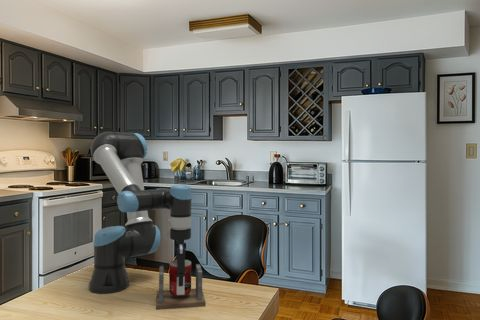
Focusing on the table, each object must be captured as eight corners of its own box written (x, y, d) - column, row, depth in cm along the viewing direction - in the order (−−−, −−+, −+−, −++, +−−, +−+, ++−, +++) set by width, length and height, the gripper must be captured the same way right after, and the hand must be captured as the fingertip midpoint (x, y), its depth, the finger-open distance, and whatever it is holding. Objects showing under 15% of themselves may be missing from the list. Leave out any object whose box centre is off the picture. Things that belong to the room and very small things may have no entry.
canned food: (187, 296, 134) (187, 265, 134) (165, 295, 136) (165, 264, 136) (194, 289, 142) (194, 259, 141) (173, 287, 143) (173, 258, 143)
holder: (156, 294, 144) (156, 264, 144) (201, 292, 147) (202, 262, 147) (155, 309, 130) (155, 276, 130) (205, 306, 133) (205, 273, 133)
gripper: (169, 223, 148) (169, 281, 148) (170, 233, 128) (169, 301, 128) (189, 222, 149) (188, 280, 149) (193, 233, 129) (192, 300, 129)
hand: (180, 290), depth 139 cm, fingers closed on canned food, 8 cm apart
